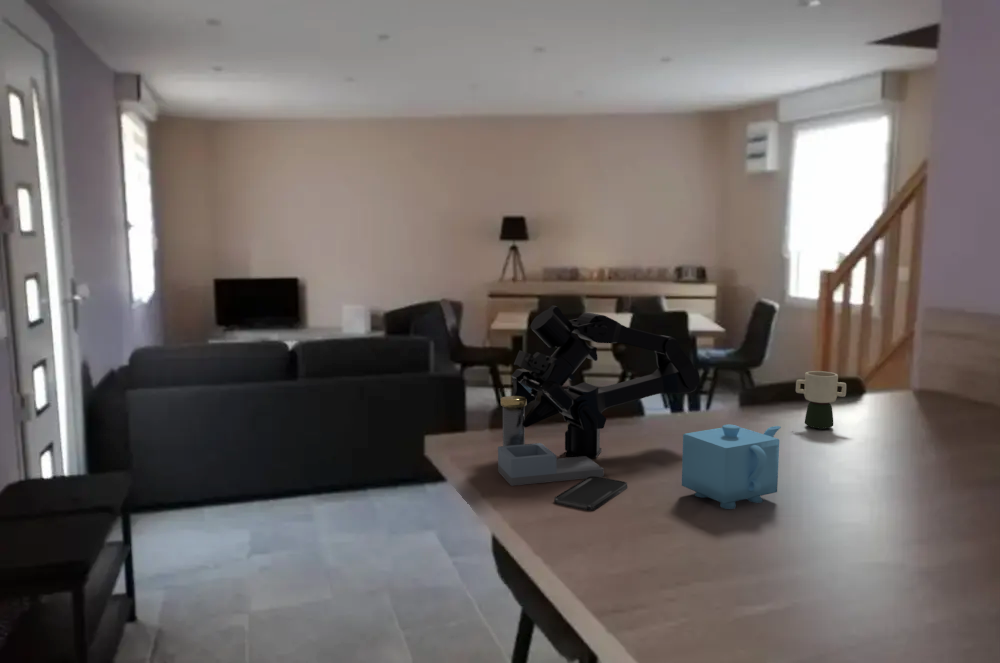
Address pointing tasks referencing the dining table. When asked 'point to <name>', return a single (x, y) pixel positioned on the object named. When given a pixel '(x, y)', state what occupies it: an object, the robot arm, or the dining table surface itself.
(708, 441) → the teapot
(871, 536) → the dining table surface
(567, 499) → the phone
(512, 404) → the pin
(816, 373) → the trophy cup
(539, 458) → the hitch socket
